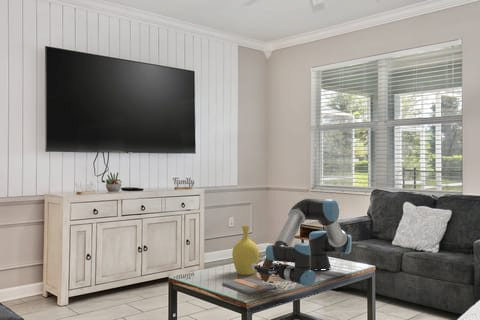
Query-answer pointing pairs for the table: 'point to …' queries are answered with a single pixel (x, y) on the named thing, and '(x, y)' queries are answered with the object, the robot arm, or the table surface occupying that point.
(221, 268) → the table surface
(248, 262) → the vase
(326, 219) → the robot arm
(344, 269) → the table surface
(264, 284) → the board
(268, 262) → the wooden block set
